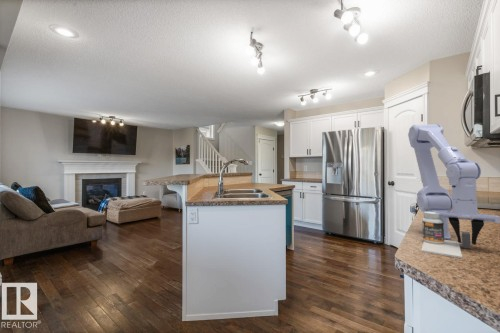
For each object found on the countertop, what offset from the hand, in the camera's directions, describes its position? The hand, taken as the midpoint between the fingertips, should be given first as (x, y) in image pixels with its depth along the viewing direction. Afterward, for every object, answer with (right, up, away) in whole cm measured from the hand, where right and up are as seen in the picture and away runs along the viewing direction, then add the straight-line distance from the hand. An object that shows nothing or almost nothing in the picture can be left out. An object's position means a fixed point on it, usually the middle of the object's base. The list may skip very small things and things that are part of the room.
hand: (466, 242), depth 70 cm
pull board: (-6, -2, +1) cm, 6 cm away
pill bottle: (-6, -2, +5) cm, 8 cm away
